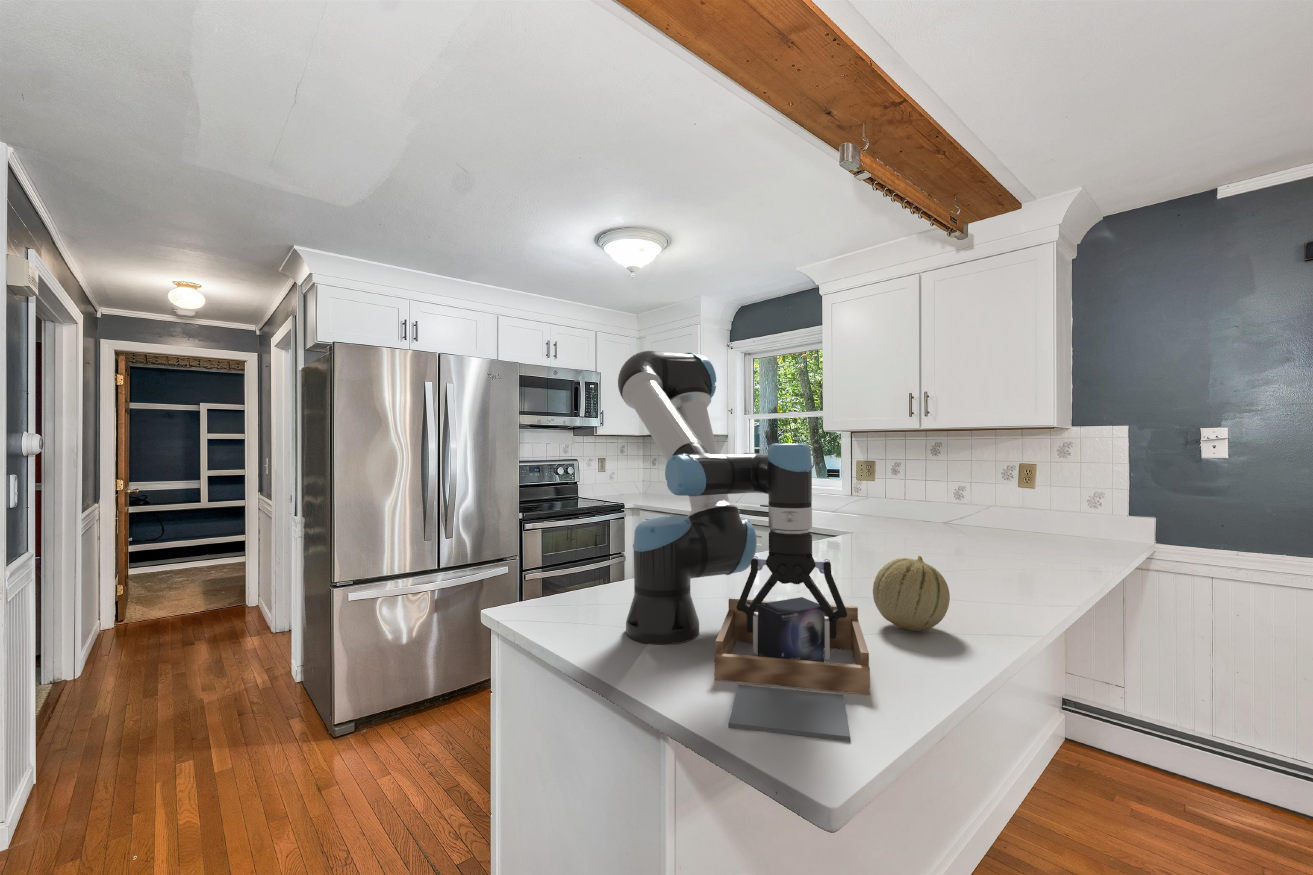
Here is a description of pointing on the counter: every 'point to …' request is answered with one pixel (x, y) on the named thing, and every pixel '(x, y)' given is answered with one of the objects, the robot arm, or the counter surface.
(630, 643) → the counter surface
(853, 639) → the open wooden tray
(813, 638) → the small box
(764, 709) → the mat
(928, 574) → the cantaloupe
